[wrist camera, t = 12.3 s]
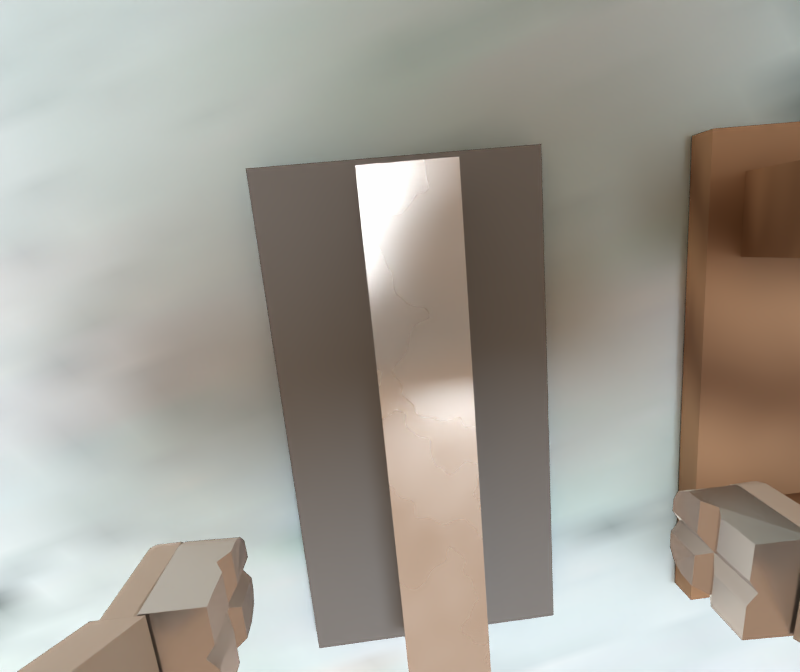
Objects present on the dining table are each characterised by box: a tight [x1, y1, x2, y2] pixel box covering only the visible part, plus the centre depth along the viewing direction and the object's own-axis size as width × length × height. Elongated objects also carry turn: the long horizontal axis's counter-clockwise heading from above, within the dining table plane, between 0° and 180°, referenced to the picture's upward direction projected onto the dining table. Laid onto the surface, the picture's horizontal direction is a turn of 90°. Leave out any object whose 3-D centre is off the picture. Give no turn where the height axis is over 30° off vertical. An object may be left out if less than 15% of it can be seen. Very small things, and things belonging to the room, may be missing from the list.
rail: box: [355, 157, 491, 672], centre depth 16 cm, size 18×3×2 cm, turn 5°
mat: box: [246, 144, 553, 648], centre depth 17 cm, size 19×10×1 cm, turn 5°
